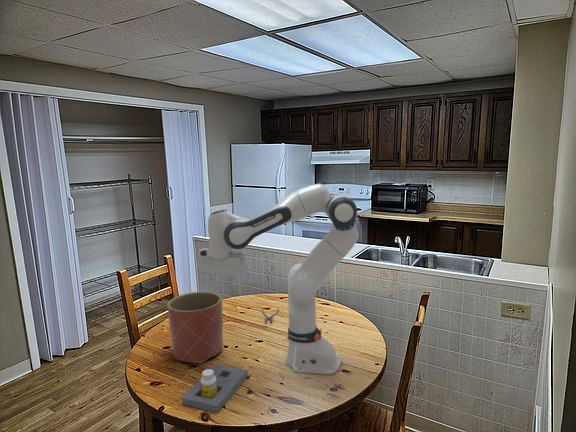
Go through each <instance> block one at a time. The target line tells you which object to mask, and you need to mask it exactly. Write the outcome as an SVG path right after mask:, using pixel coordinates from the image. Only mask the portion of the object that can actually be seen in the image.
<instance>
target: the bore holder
mask: <svg viewBox="0 0 576 432" xmlns="http://www.w3.org/2000/svg"><path fill="white" fill-rule="evenodd" d="M210 369H212V370H213V371H214V376H215V377H216V381H217V394H216V396H215V397H214V398H213V399H209V398H204V397H202V393H201V378H200V379H199V380H198V381H197V382H196V383H195V384H194V385H193V386H191V388H190V389H189V390H188V391H187V392H186V393H185V394H184V395H182V396H181V404H182V405H183V404H184V406H187V405H189V406H188V407H191V406H193V407H192V408H195V407H197V408H196V409H199V408H200V409H199V410H203V409H205V410H204V411H207V410H208V411H209V412H212V413H216V412H217V413H216V414H219V412H220V411H221V410H222V408H223V407H224V406H225V405H226V403H227V402H228V401H229V400H230V399H231V397H232V396H233V395H234V394H235V393H236V391H238V389H239V387H240V386H241V385H242V384H243V383H244V381H246V379H247V378H248V376H249V375H248V374H249V371H248V369H244V368H240V367H234V366H230V365H223V364H218V363H215V364H214V365H213V366H212V367H211V368H210ZM220 409H221V410H220Z"/></svg>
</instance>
